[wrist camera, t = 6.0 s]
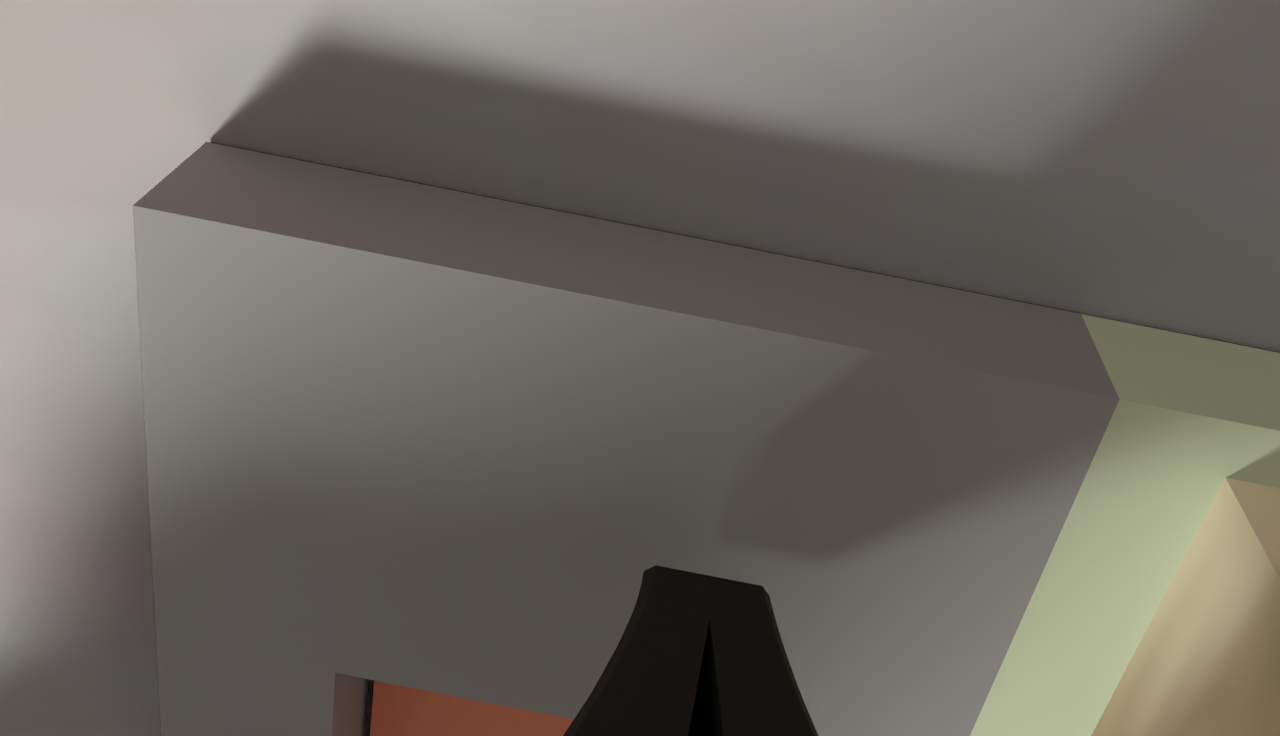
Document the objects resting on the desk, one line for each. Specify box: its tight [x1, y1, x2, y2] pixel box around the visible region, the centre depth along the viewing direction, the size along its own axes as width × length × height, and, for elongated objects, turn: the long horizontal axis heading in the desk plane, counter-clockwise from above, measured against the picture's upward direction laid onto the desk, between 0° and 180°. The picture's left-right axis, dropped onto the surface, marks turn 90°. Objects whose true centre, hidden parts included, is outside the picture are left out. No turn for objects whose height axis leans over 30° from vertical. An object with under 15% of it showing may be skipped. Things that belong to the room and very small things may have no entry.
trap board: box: [133, 142, 1280, 736], centre depth 17 cm, size 12×18×4 cm, turn 81°
